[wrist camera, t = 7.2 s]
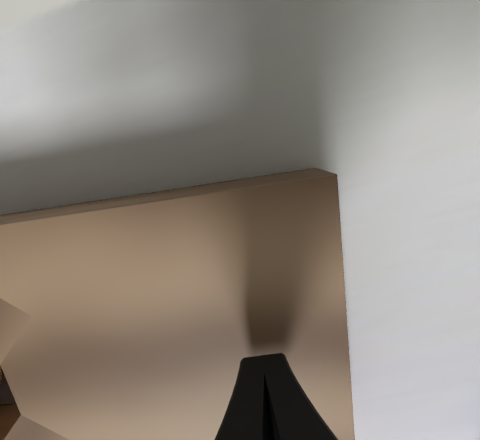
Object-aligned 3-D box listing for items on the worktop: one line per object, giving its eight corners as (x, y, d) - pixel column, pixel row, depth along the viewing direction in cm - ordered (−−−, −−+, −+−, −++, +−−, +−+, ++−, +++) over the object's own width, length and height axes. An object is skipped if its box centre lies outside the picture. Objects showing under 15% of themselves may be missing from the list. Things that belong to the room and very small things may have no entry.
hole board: (336, 417, 14) (357, 473, 12) (-63, 468, 15) (-121, 531, 12) (315, 168, 11) (337, 174, 9) (-183, 243, 12) (-290, 268, 9)
